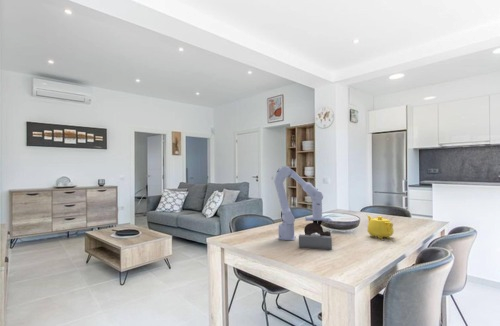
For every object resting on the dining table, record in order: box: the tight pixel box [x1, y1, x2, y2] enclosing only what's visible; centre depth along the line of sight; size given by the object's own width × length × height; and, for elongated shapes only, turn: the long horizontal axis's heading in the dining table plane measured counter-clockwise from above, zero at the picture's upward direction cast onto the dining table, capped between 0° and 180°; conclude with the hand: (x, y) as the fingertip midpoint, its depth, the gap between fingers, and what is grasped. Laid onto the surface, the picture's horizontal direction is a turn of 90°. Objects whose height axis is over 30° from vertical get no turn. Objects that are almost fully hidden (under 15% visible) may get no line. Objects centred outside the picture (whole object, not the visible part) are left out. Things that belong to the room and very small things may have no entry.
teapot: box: [366, 214, 394, 240], centre depth 168 cm, size 13×20×12 cm
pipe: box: [303, 222, 332, 236], centre depth 159 cm, size 10×15×15 cm
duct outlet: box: [298, 233, 333, 250], centre depth 148 cm, size 17×5×7 cm, turn 73°
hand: (317, 232), depth 168 cm, fingers closed, pressing on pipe
